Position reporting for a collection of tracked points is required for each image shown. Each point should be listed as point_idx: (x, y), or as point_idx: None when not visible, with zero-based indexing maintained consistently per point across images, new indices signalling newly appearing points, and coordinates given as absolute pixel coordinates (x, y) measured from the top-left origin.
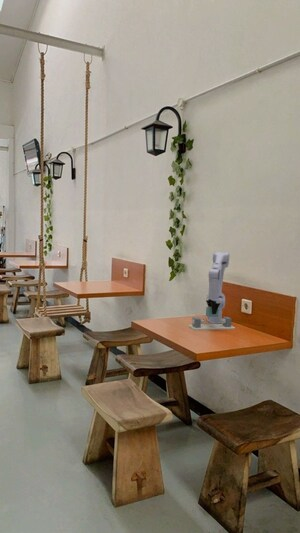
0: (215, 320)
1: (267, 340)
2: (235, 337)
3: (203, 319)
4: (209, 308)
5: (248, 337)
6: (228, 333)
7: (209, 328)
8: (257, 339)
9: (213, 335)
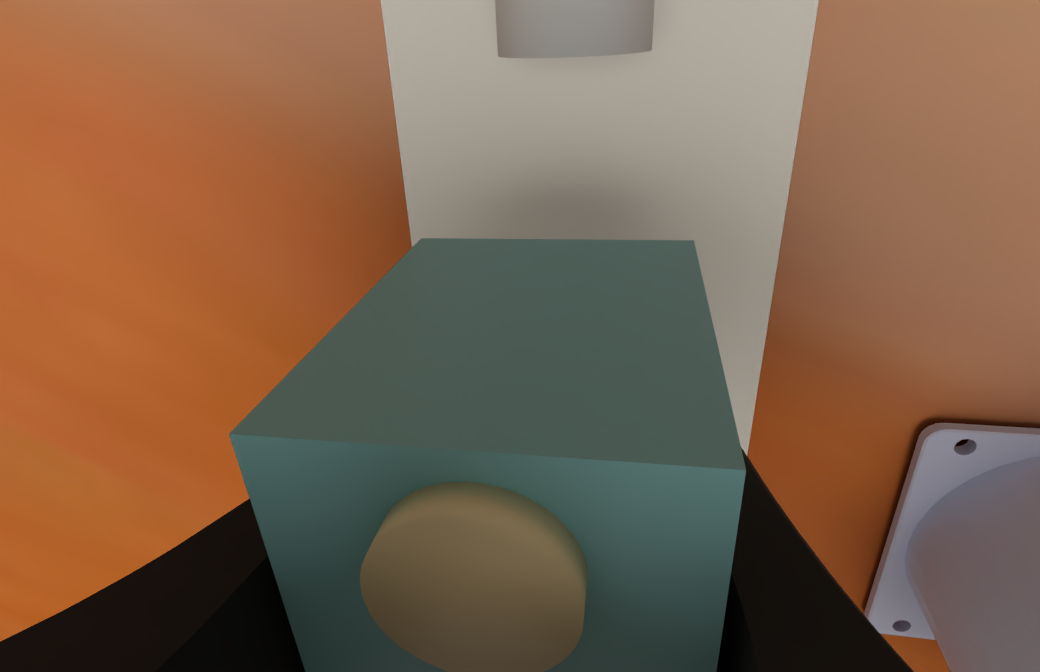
0: (958, 541)
1: (15, 633)
2: (16, 385)
3: (536, 56)
4: (244, 456)
5: (73, 532)
6: (217, 392)
7: (401, 153)
8: (18, 573)
9: (12, 65)
